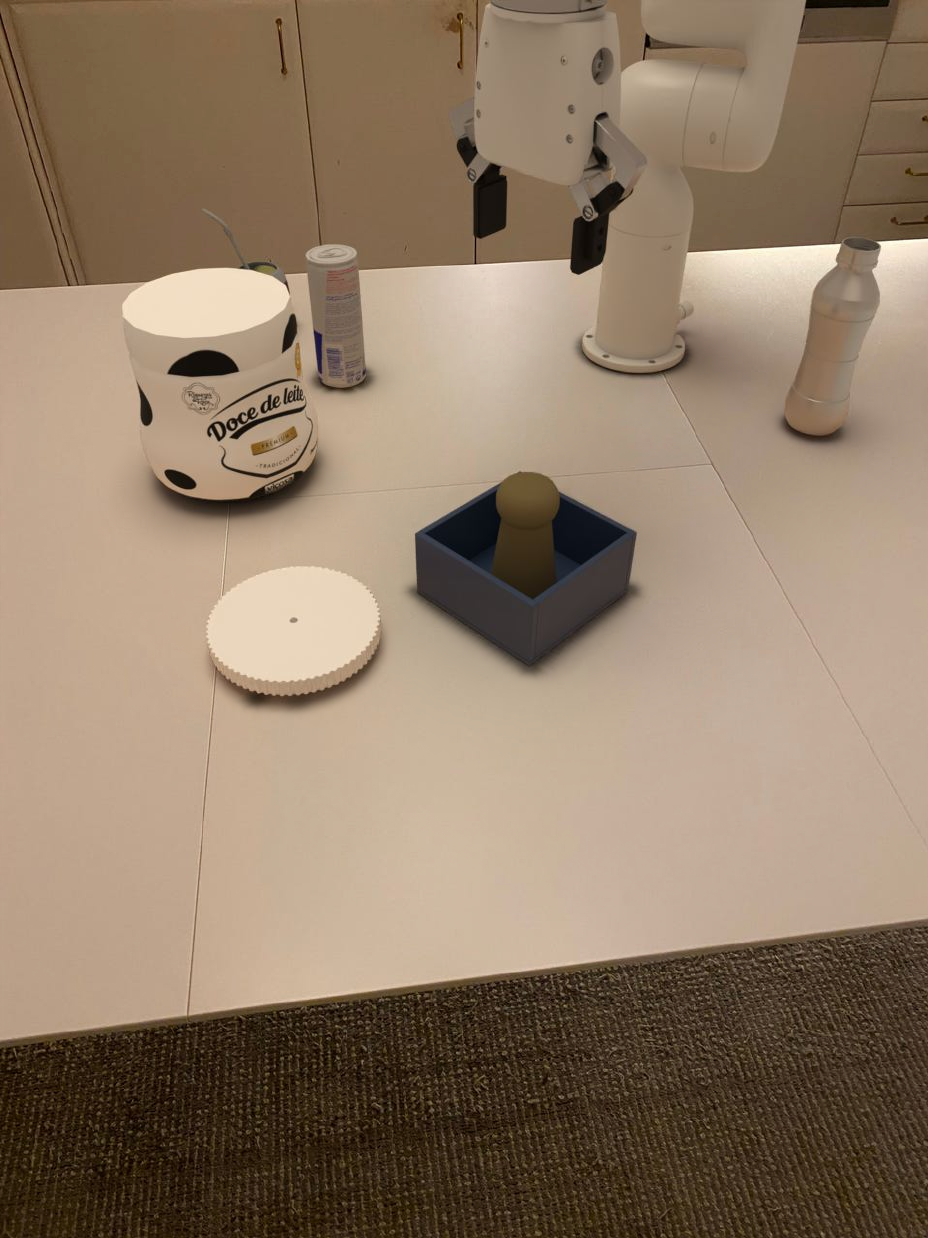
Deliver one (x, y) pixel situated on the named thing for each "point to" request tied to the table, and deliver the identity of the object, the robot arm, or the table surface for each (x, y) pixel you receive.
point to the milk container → (220, 383)
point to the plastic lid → (293, 630)
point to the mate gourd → (257, 266)
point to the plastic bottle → (834, 339)
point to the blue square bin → (523, 627)
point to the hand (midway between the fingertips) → (536, 250)
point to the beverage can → (336, 314)
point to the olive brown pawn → (526, 533)
